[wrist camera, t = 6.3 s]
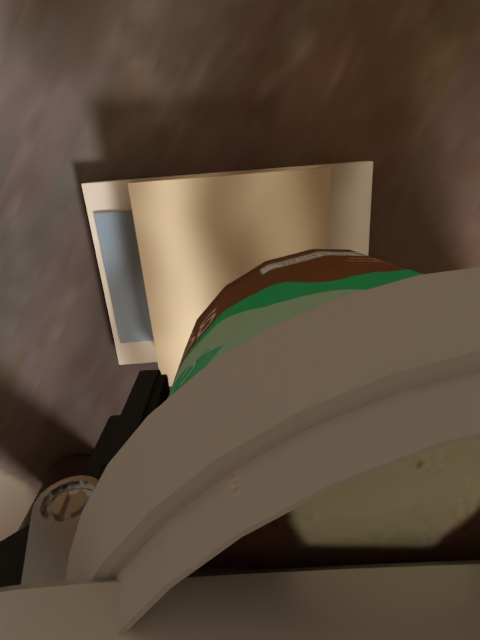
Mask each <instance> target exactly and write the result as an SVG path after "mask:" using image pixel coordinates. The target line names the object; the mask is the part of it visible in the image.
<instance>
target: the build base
mask: <svg viewBox="0 0 480 640" xmlns="http://www.w3.org/2000/svg"><path fill="white" fill-rule="evenodd" d="M372 176H373V161H358V162H345V163H333V164H320V165H307V166H294V167H281V168H268V169H255V170H242V171H229V172H216V173H203V174H190V175H177V176H164V177H151V178H138V179H125V180H113V181H100V182H88V183H83V184H81V185H82V190H83V195H84V199H85V204H86V209H87V214H88V218H89V223H90V228H91V232H92V237H93V242H94V247H95V251H96V256H97V261H98V266H99V270H100V275H101V280H102V285H103V289H104V294H105V299H106V304H107V308H108V313H109V318H110V323H111V327H112V332H113V337H114V342H115V346H116V351H117V356H118V361H119V365H124V364H136V363H148V362H158V367H159V370H160V371H161V374H167V376H168V382H169V386H172V385H173V382H174V379H175V376H176V373H177V370H178V367H179V364H180V362H181V359H182V356H183V353H184V350H185V347H186V345H187V342H188V340H189V338H190V335H191V333H192V330H193V328H194V325H195V323H196V320H197V319H198V317H199V316H200V315H201V314H202V313H203V312H204V310H205V309H206V308H207V307H208V306H209V305H210V303H211V302H212V301H213V300H214V299H215V297H216V296H217V295H218V294H219V293H220V292H221V290H222V289H223V288H224V287H225V286H226V285H228V284H229V283H231V282H232V281H234V280H236V279H237V278H239V277H241V276H242V275H244V274H245V273H247V272H249V271H250V270H252V269H254V268H255V267H257V266H258V265H260V264H262V263H263V262H265V261H268V260H272V259H276V258H279V257H283V256H287V255H291V254H295V253H299V252H303V251H306V250H310V249H349V250H352V251H355V252H358V253H361V254H364V255H367V256H368V253H369V234H370V214H371V195H372Z"/></svg>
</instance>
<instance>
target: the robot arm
mask: <svg viewBox="0 0 480 640" xmlns="http://www.w3.org/2000/svg"><path fill="white" fill-rule="evenodd" d="M169 393H170V390H169V382H168V376H167V374H161V371H160V370H144V371H140V372H139V375H138V377H137V379H136V381H135V384H134V386H133V388H132V390H131V393H130V395H129V397H128V399H127V402H126V404H125V406H124V409H123V411H122V413H121V415H113V416H111V417H110V418H109V420H108V421H107V424H106V426H105V428H104V430H103V432H102V434H101V436H100V438H99V440H98V442H97V444H96V446H95V448H94V451H93V453H92V455H91V457H90V459H89V461H88V463H87V465H86V467H85V469H84V471H83V473H82V475H79V476H73V477H69V478H66V479H63V480H60V481H58V482H56V483H55V484H53V485H51V486H49V487H48V488H47V489H46V490H45V491H44V492H42V493H41V494H40V496H39V497H38V498H37V500H36V501H35V503H34V506H33V509H32V514H31V521H30V524H29V525H27V526H26V527H24V528H22V529H21V530H19V531H17V532H16V533H14V534H12V535H11V536H9V537H7V538H6V539H4V540H3V541H1V542H0V640H480V559H479V560H455V561H431V562H407V563H384V564H361V565H339V566H318V567H297V568H277V569H256V570H236V571H217V572H199V573H191V574H190V575H188V576H187V577H186V578H184V579H183V580H181V581H180V582H179V583H177V584H176V585H175V586H173V587H172V588H170V589H169V590H168V591H167V592H166V593H165V594H164V595H163V596H162V597H161V598H160V599H159V600H158V601H157V602H156V603H155V604H154V605H153V606H152V607H151V608H150V609H149V610H148V611H147V612H146V613H145V614H144V615H143V616H142V617H141V618H140V619H139V620H138V621H137V622H136V623H135V624H134V625H133V626H132V627H131V628H130V629H129V630H127V631H124V632H121V633H118V634H117V623H118V612H119V600H120V588H121V581H118V580H116V579H107V580H92V581H91V580H87V579H78V580H66V573H67V565H68V557H69V554H70V550H71V547H72V543H73V540H74V537H75V533H76V530H77V527H78V523H79V520H80V516H81V513H82V511H83V509H84V507H85V505H86V503H87V501H88V500H89V498H90V496H91V494H92V492H93V490H94V489H95V487H96V485H97V483H98V481H99V479H100V478H101V476H102V474H103V472H104V470H105V468H106V467H107V465H108V463H109V462H110V461H111V460H112V459H113V457H114V456H115V455H116V454H117V453H118V451H119V450H120V449H121V448H122V446H123V445H124V444H125V443H126V442H127V440H128V439H129V438H130V437H131V436H132V434H133V433H134V432H135V431H136V429H137V428H138V427H139V426H140V425H141V423H142V422H143V421H144V420H145V419H146V417H147V416H148V415H149V414H151V413H152V412H153V411H154V410H155V409H156V408H158V407H159V406H160V405H161V404H162V403H163V402H165V401H166V400H167V399H168V396H169Z"/></svg>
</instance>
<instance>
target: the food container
mask: <svg viewBox="0 0 480 640" xmlns="http://www.w3.org/2000/svg"><path fill="white" fill-rule="evenodd" d="M479 559H480V267H476V268H468V269H460V270H453V271H445V272H437V273H430V274H422V273H419V272H416V271H413V270H410V269H407V268H404V267H401V266H398V265H395V264H392V263H389V262H386V261H383V260H380V259H377V258H374V257H371V256H367V255H364V254H361V253H358V252H355V251H352V250H349V249H310V250H306V251H303V252H299V253H295V254H291V255H287V256H283V257H279V258H276V259H272V260H268V261H265V262H263V263H262V264H260V265H258V266H257V267H255V268H254V269H252V270H250V271H249V272H247V273H245V274H244V275H242V276H241V277H239V278H237V279H236V280H234V281H232V282H231V283H229V284H228V285H226V286H225V287H224V288H223V289H222V290H221V292H220V293H219V294H218V295H217V296H216V297H215V299H214V300H213V301H212V302H211V303H210V305H209V306H208V307H207V308H206V309H205V310H204V312H203V313H202V314H201V315H200V316H199V317H198V319H197V320H196V323H195V325H194V328H193V330H192V333H191V335H190V338H189V340H188V342H187V345H186V347H185V350H184V353H183V356H182V359H181V362H180V364H179V367H178V370H177V373H176V376H175V379H174V382H173V385H172V387H171V390H170V393H169V396H168V399H167V400H166V401H165V402H163V403H162V404H161V405H160V406H159V407H158V408H156V409H155V410H154V411H153V412H152V413H151V414H149V415H148V416H147V417H146V419H145V420H144V421H143V422H142V423H141V425H140V426H139V427H138V428H137V429H136V431H135V432H134V433H133V434H132V436H131V437H130V438H129V439H128V440H127V442H126V443H125V444H124V445H123V446H122V448H121V449H120V450H119V451H118V453H117V454H116V455H115V456H114V457H113V459H112V460H111V461H110V462H109V463H108V465H107V467H106V468H105V470H104V472H103V474H102V476H101V478H100V479H99V481H98V483H97V485H96V487H95V489H94V490H93V492H92V494H91V496H90V498H89V500H88V501H87V503H86V505H85V507H84V509H83V511H82V513H81V516H80V520H79V523H78V527H77V530H76V533H75V537H74V540H73V543H72V547H71V550H70V554H69V557H68V565H67V573H66V580H78V579H87V580H91V581H92V580H107V579H116V580H118V581H121V588H120V600H119V612H118V623H117V634H118V633H121V632H124V631H127V630H129V629H130V628H131V627H132V626H133V625H134V624H135V623H136V622H137V621H138V620H139V619H140V618H141V617H142V616H143V615H144V614H145V613H146V612H147V611H148V610H149V609H150V608H151V607H152V606H153V605H154V604H155V603H156V602H157V601H158V600H159V599H160V598H161V597H162V596H163V595H164V594H165V593H166V592H167V591H168V590H169V589H170V588H172V587H173V586H175V585H176V584H177V583H179V582H180V581H181V580H183V579H184V578H186V577H187V576H188V575H190V574H191V573H199V572H217V571H236V570H256V569H277V568H297V567H318V566H339V565H361V564H384V563H407V562H431V561H455V560H479Z"/></svg>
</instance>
